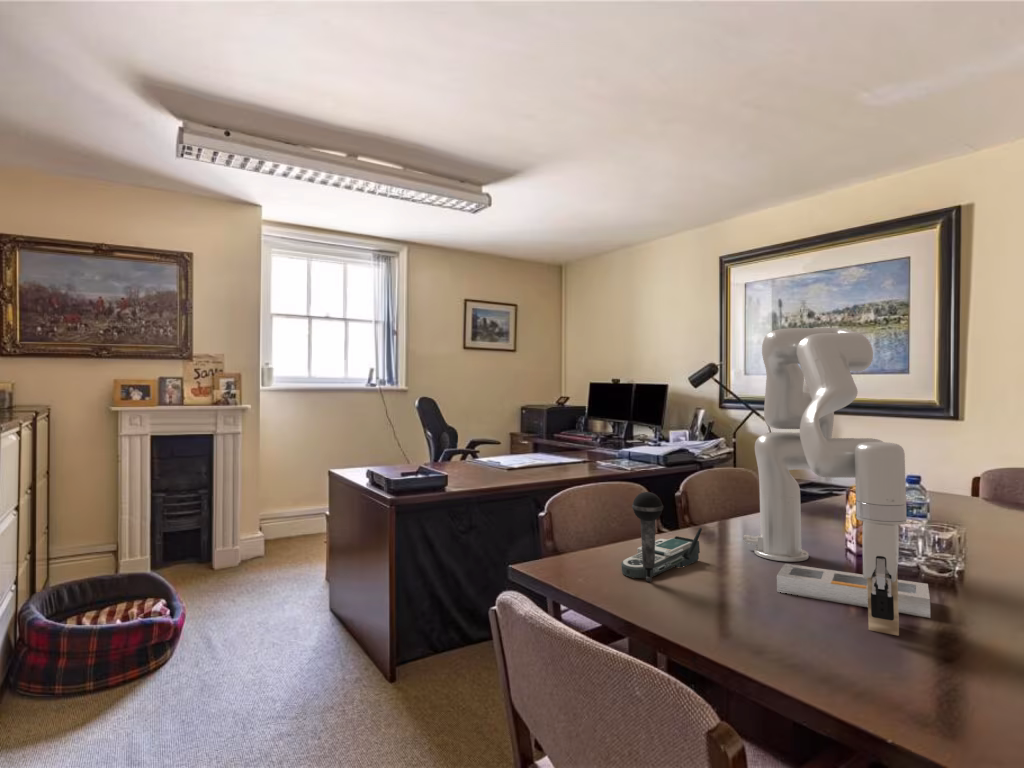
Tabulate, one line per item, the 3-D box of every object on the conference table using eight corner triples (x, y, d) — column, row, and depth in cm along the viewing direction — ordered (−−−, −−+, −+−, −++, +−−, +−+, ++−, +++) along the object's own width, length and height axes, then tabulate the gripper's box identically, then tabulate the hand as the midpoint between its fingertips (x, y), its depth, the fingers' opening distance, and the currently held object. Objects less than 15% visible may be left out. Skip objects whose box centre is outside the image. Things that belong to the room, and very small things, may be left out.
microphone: (667, 579, 129) (665, 490, 129) (661, 588, 122) (660, 495, 123) (636, 575, 131) (635, 488, 132) (630, 584, 125) (628, 493, 126)
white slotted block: (777, 592, 119) (776, 574, 119) (785, 579, 128) (784, 562, 128) (930, 618, 105) (929, 597, 105) (928, 601, 113) (927, 582, 113)
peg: (868, 630, 100) (866, 567, 100) (869, 621, 103) (868, 560, 104) (898, 635, 97) (897, 571, 98) (898, 626, 101) (897, 564, 101)
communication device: (605, 573, 135) (604, 536, 135) (665, 553, 150) (663, 520, 151) (647, 585, 126) (646, 545, 126) (706, 563, 141) (704, 527, 141)
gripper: (858, 502, 110) (861, 591, 110) (852, 518, 96) (855, 621, 95) (906, 506, 106) (908, 598, 105) (906, 523, 92) (909, 631, 91)
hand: (883, 609), depth 100 cm, fingers open, 9 cm apart
